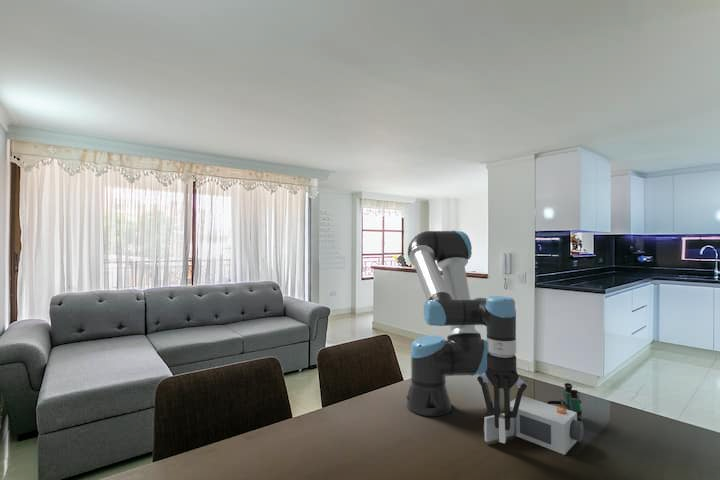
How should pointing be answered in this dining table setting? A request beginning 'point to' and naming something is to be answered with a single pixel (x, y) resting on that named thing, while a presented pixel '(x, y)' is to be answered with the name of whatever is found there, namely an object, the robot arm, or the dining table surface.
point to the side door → (493, 432)
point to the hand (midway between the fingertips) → (502, 440)
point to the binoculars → (570, 401)
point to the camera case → (547, 425)
